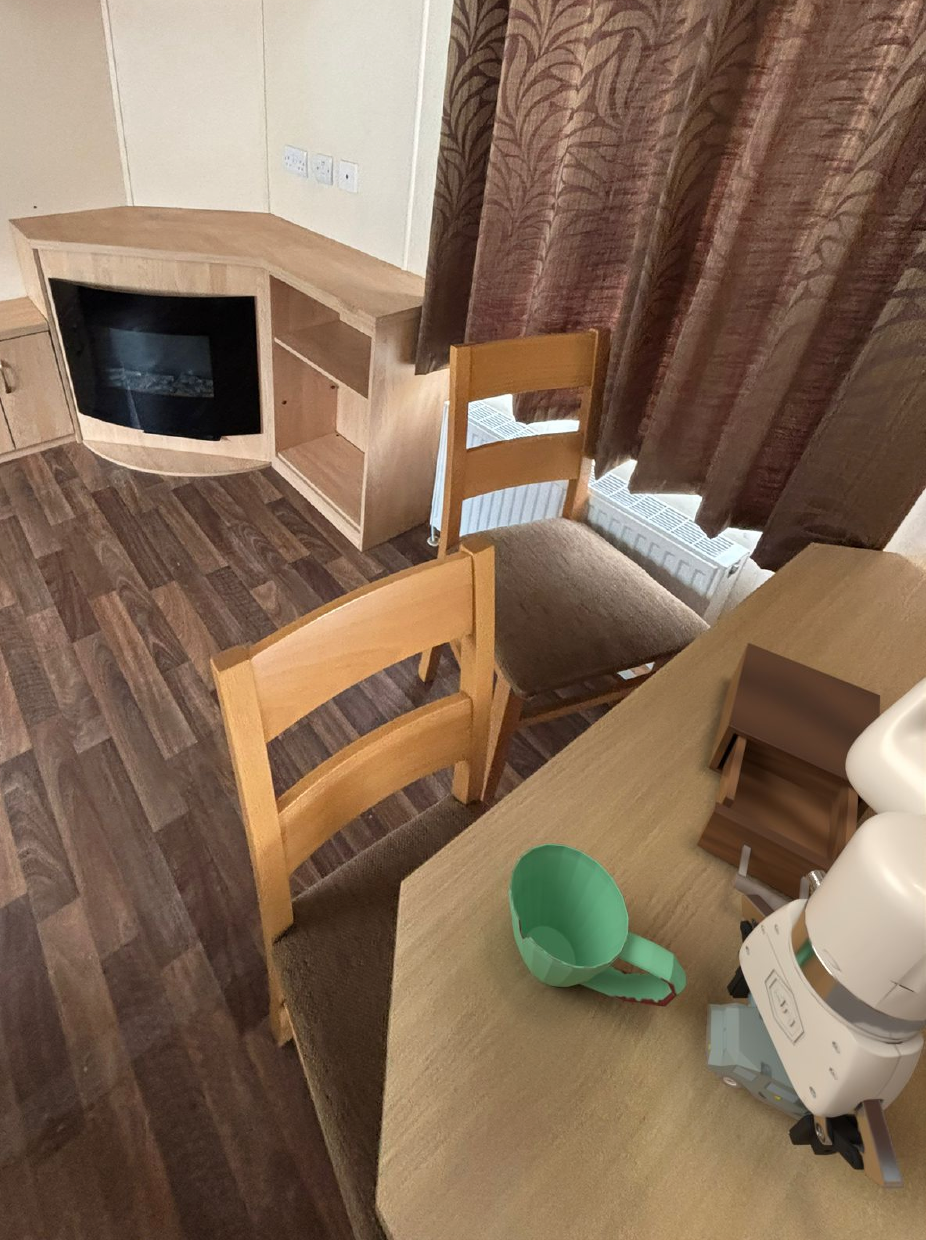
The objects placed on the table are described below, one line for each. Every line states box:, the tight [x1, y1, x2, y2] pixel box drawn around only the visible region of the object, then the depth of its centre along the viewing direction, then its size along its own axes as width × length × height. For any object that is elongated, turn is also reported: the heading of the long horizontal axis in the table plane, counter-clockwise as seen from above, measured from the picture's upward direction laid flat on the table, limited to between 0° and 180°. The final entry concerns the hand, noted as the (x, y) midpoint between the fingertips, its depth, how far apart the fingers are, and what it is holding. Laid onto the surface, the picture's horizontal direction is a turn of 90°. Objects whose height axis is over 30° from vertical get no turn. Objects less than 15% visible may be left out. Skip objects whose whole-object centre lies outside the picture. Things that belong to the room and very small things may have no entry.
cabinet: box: [707, 642, 881, 824], centre depth 79 cm, size 15×14×8 cm
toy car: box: [705, 991, 813, 1122], centre depth 54 cm, size 6×10×5 cm, turn 63°
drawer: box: [696, 734, 858, 911], centre depth 69 cm, size 18×12×6 cm
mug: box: [507, 842, 687, 1008], centre depth 60 cm, size 15×10×10 cm
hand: (776, 1060), depth 54 cm, fingers closed on toy car, 8 cm apart
